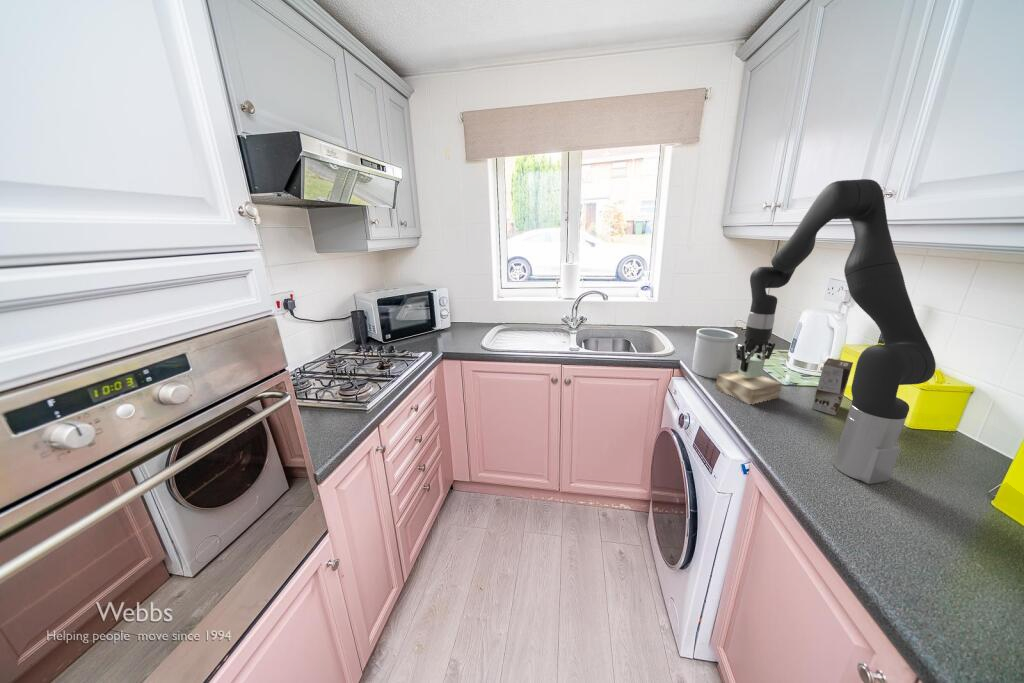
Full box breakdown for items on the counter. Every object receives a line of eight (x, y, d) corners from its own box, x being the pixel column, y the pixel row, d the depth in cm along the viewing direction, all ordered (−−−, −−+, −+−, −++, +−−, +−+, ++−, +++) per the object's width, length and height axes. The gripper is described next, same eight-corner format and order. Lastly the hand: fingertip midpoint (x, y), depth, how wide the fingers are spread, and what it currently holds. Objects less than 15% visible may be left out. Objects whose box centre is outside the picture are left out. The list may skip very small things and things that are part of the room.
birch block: (778, 398, 125) (781, 383, 123) (750, 405, 121) (753, 390, 119) (741, 383, 138) (744, 369, 136) (715, 389, 133) (717, 374, 131)
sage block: (761, 376, 125) (764, 361, 123) (749, 377, 124) (752, 362, 122) (750, 371, 130) (753, 356, 128) (738, 372, 129) (741, 357, 127)
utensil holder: (723, 366, 153) (730, 328, 148) (736, 380, 139) (744, 338, 134) (687, 364, 156) (692, 327, 151) (696, 378, 143) (702, 337, 137)
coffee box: (836, 416, 112) (850, 369, 107) (810, 408, 117) (822, 364, 112) (840, 406, 118) (854, 362, 113) (816, 400, 123) (828, 357, 118)
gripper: (750, 329, 116) (741, 376, 122) (787, 326, 119) (776, 372, 124) (733, 323, 124) (725, 368, 129) (768, 321, 126) (759, 365, 131)
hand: (750, 370), depth 126 cm, fingers closed on sage block, 5 cm apart
